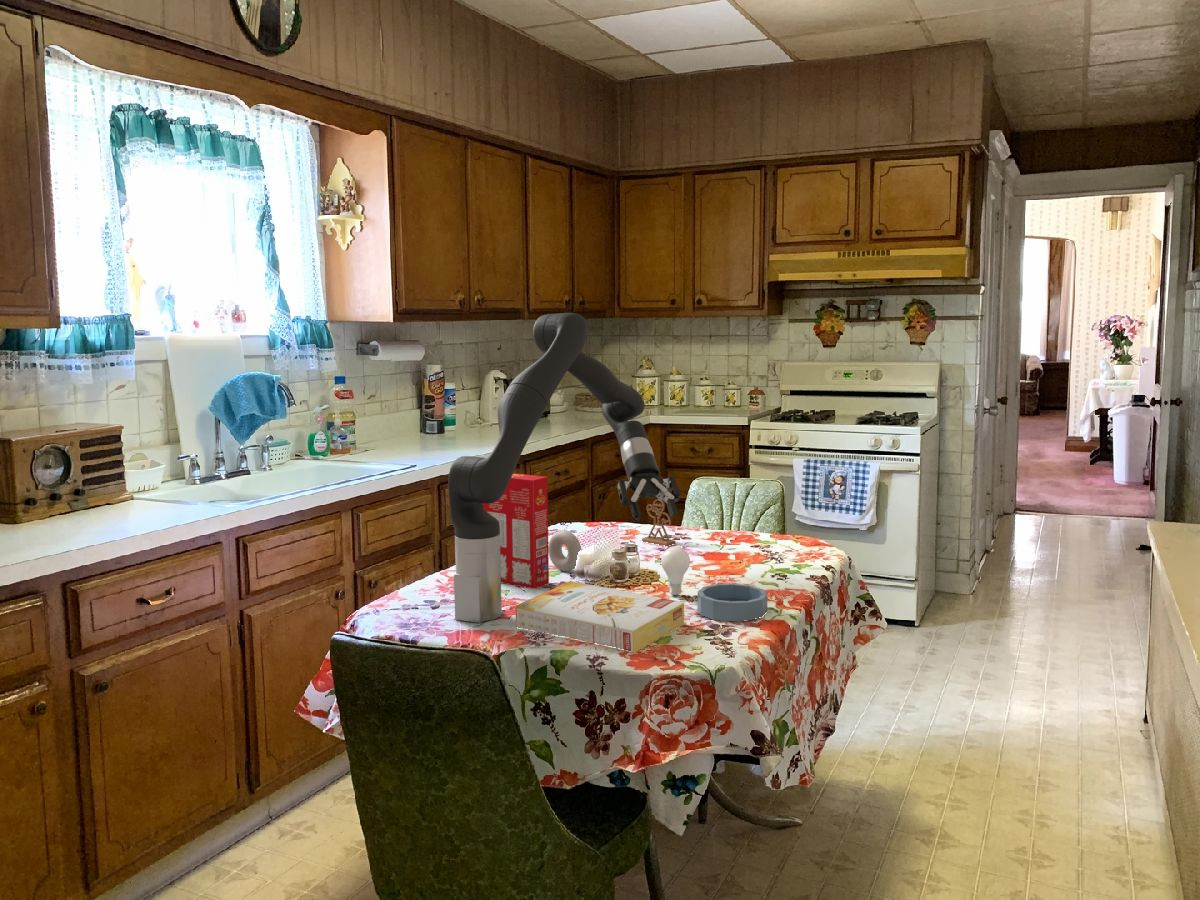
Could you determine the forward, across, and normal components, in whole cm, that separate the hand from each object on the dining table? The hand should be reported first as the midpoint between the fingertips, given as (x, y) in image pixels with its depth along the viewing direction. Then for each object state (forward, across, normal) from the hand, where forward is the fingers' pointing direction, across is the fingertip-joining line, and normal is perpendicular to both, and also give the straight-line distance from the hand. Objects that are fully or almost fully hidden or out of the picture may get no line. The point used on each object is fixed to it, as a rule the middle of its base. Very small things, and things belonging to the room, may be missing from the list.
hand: (656, 517), depth 232 cm
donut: (-1, -17, +23) cm, 29 cm away
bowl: (+30, +7, -8) cm, 31 cm away
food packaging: (+3, -31, +19) cm, 36 cm away
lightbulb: (+19, 0, +3) cm, 19 cm away
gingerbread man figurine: (-14, +15, +37) cm, 42 cm away
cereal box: (+30, -22, -8) cm, 38 cm away
